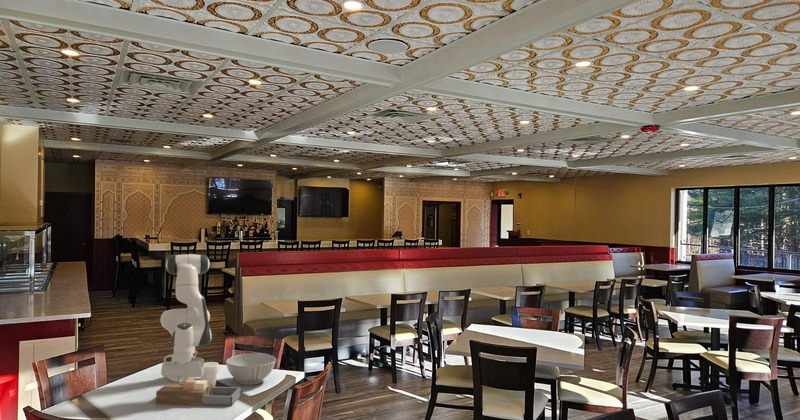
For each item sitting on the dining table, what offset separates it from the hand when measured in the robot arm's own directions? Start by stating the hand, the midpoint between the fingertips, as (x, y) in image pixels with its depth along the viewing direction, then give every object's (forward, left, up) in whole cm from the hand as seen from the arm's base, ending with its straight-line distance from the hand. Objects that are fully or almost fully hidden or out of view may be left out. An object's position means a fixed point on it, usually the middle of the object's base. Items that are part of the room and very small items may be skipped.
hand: (182, 385), depth 263 cm
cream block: (0, +9, -1) cm, 9 cm away
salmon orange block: (0, +4, -1) cm, 4 cm away
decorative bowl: (-32, +25, -7) cm, 41 cm away
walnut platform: (0, +1, -7) cm, 7 cm away
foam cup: (-17, +7, -7) cm, 20 cm away
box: (0, +20, -7) cm, 21 cm away
